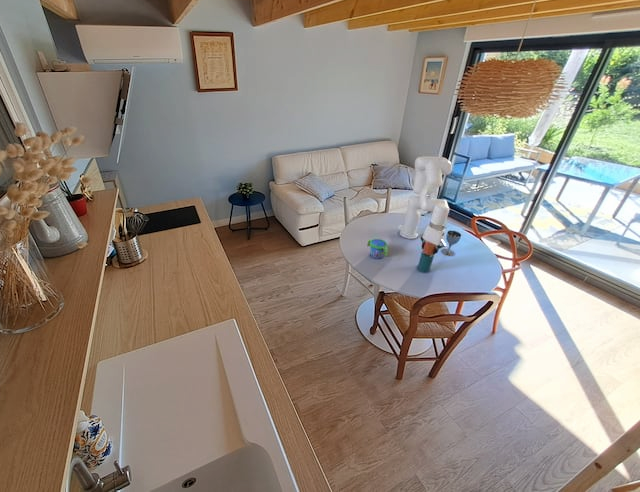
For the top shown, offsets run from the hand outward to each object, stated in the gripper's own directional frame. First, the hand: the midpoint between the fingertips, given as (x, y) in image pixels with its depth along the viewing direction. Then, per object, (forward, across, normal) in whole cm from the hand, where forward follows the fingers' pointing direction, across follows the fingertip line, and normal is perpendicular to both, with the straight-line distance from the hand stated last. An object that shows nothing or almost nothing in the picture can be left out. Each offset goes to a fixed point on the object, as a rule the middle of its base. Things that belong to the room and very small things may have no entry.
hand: (428, 250), depth 171 cm
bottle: (+14, 0, 0) cm, 14 cm away
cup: (+1, 0, 0) cm, 1 cm away
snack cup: (+14, +27, +11) cm, 33 cm away
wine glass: (+14, -1, -30) cm, 33 cm away
